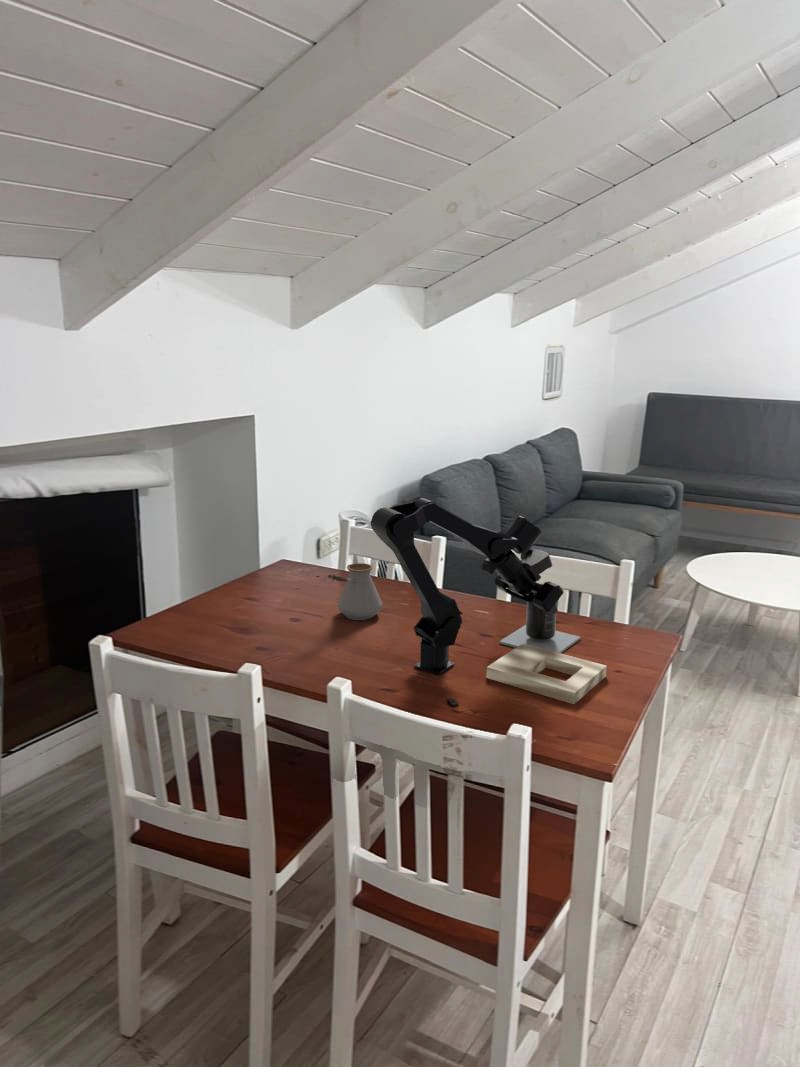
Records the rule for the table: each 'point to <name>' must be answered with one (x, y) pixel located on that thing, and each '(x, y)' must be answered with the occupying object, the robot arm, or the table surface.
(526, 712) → the table surface
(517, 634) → the rubber mat
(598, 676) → the well board
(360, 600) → the coffee pot
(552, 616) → the supplement bottle
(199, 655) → the table surface
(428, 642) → the robot arm
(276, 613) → the table surface
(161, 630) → the table surface
